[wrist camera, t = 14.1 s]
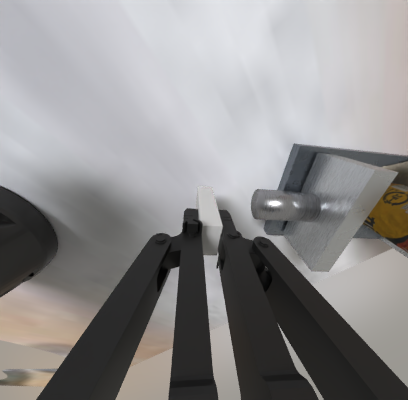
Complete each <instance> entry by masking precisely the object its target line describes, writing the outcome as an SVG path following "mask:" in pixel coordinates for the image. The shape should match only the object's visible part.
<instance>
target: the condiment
mask: <svg viewBox="0 0 408 400" xmlns="http://www.w3.org/2000/svg"><path fill="white" fill-rule="evenodd" d="M381 168H385V169H388V170H392V171H395V172H399V173H398V174H397V176H396V177H395V178H394V180H393V181H392V183H391V184H390V186H389V187H388V188H387V190H386V191H385V193H384V194H383V195H382V197H381V198H380V200H379V201H378V202H377V204H376V205H375V207H374V208H373V210H372V211H371V212H370V214H369V215H368V217H367V218H366V219H365V221H364V222H363V224H364V225H365V226H367V227H368V228H370V229H371V230H373V231H374V232H376V233H377V234H379V235H380V236H382V237H384V238H385V239H387V240H388V241H390V242H392V243H393V244H395V245H396V246H398V247H399V248H401V249H402V250H404V251H406V252H407V253H408V161H407V162H403V163H398V164H393V165H389V166H383V167H381Z"/></svg>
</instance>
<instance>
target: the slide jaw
mask: <svg viewBox="0 0 408 400" xmlns="http://www.w3.org/2000/svg"><path fill="white" fill-rule="evenodd" d="M398 173H399V172H395V171H392V170H388V169H385V168H381V167H378V166H374V165H371V164H367V163H363V162H360V161H356V160H353V159H349V158H346V157H342V156H339V155H335V154H326V153H317V155H316V158H315V160H314V162H313V165H312V167H311V169H310V172H309V174H308V176H307V179H306V181H305V183H304V186H303V188H302V190H301V192H291V191H277V190H263V189H257V190H256V191H255V192H254V194H253V196H252V200H251V211H252V215H253V217H254V218H255V219H260V220H280V221H288V223H287V225H286V227H285V230H284V232H283V235H284V236H285V237H286V239H287V240H288V241H289V242H290V244H291V245H292V246H293V248H294V249H295V250H296V252H297V253H298V254H299V256H300V257H301V258H302V260H303V261H304V262H305V264H306V265H307V266H308V267H309V269H310V270H311V271H325V272H329V270H330V269H331V268H332V266H333V265H334V263H335V262H336V261H337V259H338V258H339V256H340V255H341V253H342V252H343V251H344V249H345V248H346V246H347V245H348V244H349V242H350V241H351V239H352V238H353V236H354V235H355V234H356V232H357V231H358V229H359V228H360V227H361V225H362V224H363V222H364V221H365V219H366V218H367V217H368V215H369V214H370V212H371V211H372V210H373V208H374V207H375V205H376V204H377V202H378V201H379V200H380V198H381V197H382V195H383V194H384V193H385V191H386V190H387V188H388V187H389V186H390V184H391V183H392V181H393V180H394V178H395V177H396V176H397V174H398Z"/></svg>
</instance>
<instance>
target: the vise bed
mask: <svg viewBox="0 0 408 400" xmlns="http://www.w3.org/2000/svg"><path fill="white" fill-rule="evenodd" d="M317 153H326V154H335V155H339V156H342V157H346V158H349V159H353V160H356V161H360V162H363V163H367V164H371V165H374V166H378V167H383V166H389V165H393V164H398V163H403V162H407V161H408V156H406V155H396V154H387V153H378V152H368V151H359V150H350V149H340V148H331V147H321V146H312V145H303V144H294V145H293V147H292V150H291V153H290V156H289V159H288V162H287V164H286V167H285V170H284V173H283V176H282V179H281V181H280V184H279V187H278V190H277V191H291V192H301V190H302V188H303V186H304V183H305V181H306V179H307V176H308V174H309V172H310V169H311V167H312V165H313V162H314V160H315V158H316V155H317ZM287 223H288V221H280V220H267V221H266V224H265V227H264V230H265V232H266V234H269V235H283V232H284V230H285V227H286V225H287ZM353 238H371V239H380V240H382V241H383V242H385V243H386V244H388V245H389V246H391V247H392V248H394V249H395V250H397V251H398V252H400V253H401V254H403V255H404V256H406V257H407V258H408V253H407V252H406V251H404V250H402V249H401V248H399V247H398V246H396V245H395V244H393V243H392V242H390V241H388V240H387V239H385V238H384V237H382V236H380V235H379V234H377V233H376V232H374V231H373V230H371V229H370V228H368V227H367V226H365V225H364V224H362V225H361V227H360V228H359V229H358V231H357V232H356V234H355V235H354V236H353Z"/></svg>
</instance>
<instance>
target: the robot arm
mask: <svg viewBox="0 0 408 400" xmlns="http://www.w3.org/2000/svg"><path fill="white" fill-rule="evenodd" d="M57 246H58V245H57V238H56V235H55V233H54V230H53V229H52V227H51V225H50V224H49V222H48V221H47V220H46V219H45V218H44V216H43V215H42V214H41V213H40V212H39V211H37V210H36V209H35V208H34V207H33V206H32V205H30V204H29V203H28V202H26V201H25V200H23V199H22V198H20V197H19V196H17V195H15V194H14V193H12V192H10V191H8V190H6V189H4V188H2V187H0V297H2V296H3V295H5V294H7V293H8V292H10V291H11V290H13V289H14V288H16V287H17V286H18V285H20V284H21V283H23V282H25V281H27V280H29V279H31V278H33V277H34V276H36V275H37V274H38V273H39V272H40V271H41V270H42V269H43V268H44V267H45V266H46V265H47V264H48V263H49V262H50V261H51V260H52V259H53V258H54V256H55V254H56V252H57ZM217 253H219V257H218V262H217V268H218V266H219V270H220V276H221V282H222V288H223V294H224V299H225V305H226V311H227V317H228V323H229V329H230V334H231V340H232V346H233V351H234V358H235V364H236V370H237V376H238V381H239V386H240V393H241V400H318V397H317V395H316V393H315V391H314V389H313V388H312V386H311V385H310V383H309V382H308V380H307V379H305V378H304V377H303V376H302V375H300V374H299V373H298V371H297V370H296V368H295V366H294V363H293V361H292V358H291V356H290V353H289V351H288V349H287V346H286V344H285V341H284V339H283V336H282V334H281V331H280V329H279V327H278V324H279V326H280V328H281V329H282V331H283V333H284V334H285V336H286V338H287V339H288V341H289V343H290V344H291V346H292V347H293V349H294V351H295V352H296V354H297V356H298V357H299V359H300V360H301V362H302V364H303V366H304V367H305V369H306V371H307V372H308V374H309V375H310V377H311V379H312V380H313V382H314V384H315V385H316V387H317V389H318V390H319V392H320V394H321V395H322V397H323V398H324V400H408V387H407V386H406V385H405V384H404V383H403V382H402V381H401V380H400V379H399V378H398V377H397V376H396V375H395V374H394V373H393V372H392V370H391V369H390V368H389V367H388V366H387V365H386V364H385V363H384V362H383V361H382V360H381V359H380V357H379V356H377V354H376V353H375V352H374V351H373V350H372V349H371V348H370V347H369V346H368V345H367V344H366V342H365V341H363V339H362V338H361V337H360V336H359V335H358V334H357V333H356V332H355V331H354V330H353V329H352V328H351V326H350V325H349V324H348V323H347V322H346V321H345V320H344V319H343V318H342V317H341V316H340V315H339V314H338V312H337V311H336V310H335V309H334V308H333V307H332V306H331V305H330V304H329V303H328V302H327V301H326V300H325V299H324V298H323V297H322V295H321V294H319V292H318V291H317V290H316V289H315V288H314V287H313V286H312V285H311V284H310V283H309V281H308V280H307V279H306V278H305V277H304V276H303V275H302V274H301V273H300V272H299V271H298V270H297V269H296V268H295V266H294V265H293V264H292V263H291V262H290V261H289V260H288V259H287V258H286V257H285V256H284V255H283V254H282V253H281V251H280V250H279V249H278V248H277V247H276V246H275V245H274V244H273V243H272V242H271V241H270V240H269V239H267V238H264V237H255V239H254V240H253V241H252V240H248V239H245V238H243V237H242V235H241V234H240V233H239V232H238V231H236V229H235V226H234V223H233V221H232V218H231V215H230V213H229V212H228V211H227V210H218V207H217V203H216V200H215V196H214V192H213V189H212V187H204V186H198V188H197V199H196V209H188V208H187V209H186V210H185V211H184V221H183V229H182V233H181V234H179V235H178V236H175V237H170V236H169V235H168V234H165V233H159V234H156V235H154V236H152V237H151V238H150V240H149V241H148V243H147V244H146V245H145V247H144V248H143V250H142V251H141V253H140V254H139V255H138V257H137V258H136V260H135V261H134V262H133V264H132V265H131V267H130V268H129V269H128V271H127V272H126V274H125V275H124V277H123V278H122V279H121V281H120V282H119V284H118V285H117V286H116V288H115V289H114V291H113V292H112V293H111V295H110V296H109V298H108V299H107V301H106V302H105V303H104V305H103V306H102V308H101V309H100V310H99V312H98V313H97V315H96V316H95V317H94V319H93V320H92V322H91V323H90V325H89V326H88V327H87V329H86V330H85V332H84V333H83V334H82V336H81V337H80V339H79V340H78V341H77V343H76V344H75V346H74V347H73V348H72V350H71V351H70V353H69V354H68V356H67V357H66V358H65V360H64V361H63V363H62V364H61V365H60V367H59V368H58V370H57V371H56V372H55V374H54V375H53V377H52V378H51V380H50V381H49V382H48V384H47V385H46V387H45V388H44V390H43V391H42V392H41V394H40V395H39V396H38V398H37V399H36V400H115V399H116V397H117V395H118V392H119V390H120V388H121V385H122V383H123V381H124V378H125V376H126V373H127V371H128V369H129V366H130V364H131V362H132V359H133V357H134V355H135V352H136V350H137V348H138V345H139V343H140V341H141V338H142V336H143V334H144V331H145V329H146V327H147V324H148V322H149V320H150V317H151V315H152V313H153V310H154V308H155V305H156V303H157V301H158V298H159V296H160V294H161V291H162V289H163V287H164V284H165V282H166V280H167V277H168V275H169V273H170V270H171V269H172V268H175V267H179V266H180V267H179V280H178V292H177V305H176V317H175V329H174V342H173V354H172V367H171V378H170V388H169V400H218V393H217V387H216V384H215V380H214V376H213V368H212V357H211V343H210V331H209V319H208V306H207V294H206V282H205V270H204V257H203V255H217ZM266 267H267V268H266ZM277 323H278V324H277Z"/></svg>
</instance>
